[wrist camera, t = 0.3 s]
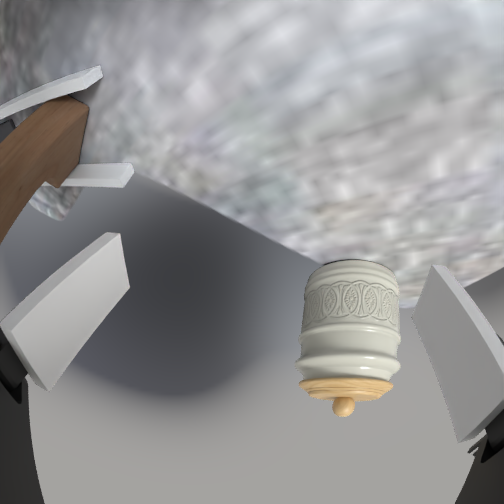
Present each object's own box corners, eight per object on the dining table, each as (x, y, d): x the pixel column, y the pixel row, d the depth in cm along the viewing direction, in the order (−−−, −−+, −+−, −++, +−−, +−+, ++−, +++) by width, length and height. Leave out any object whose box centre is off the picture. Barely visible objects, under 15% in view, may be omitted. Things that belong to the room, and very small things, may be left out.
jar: (298, 297, 42) (279, 412, 32) (317, 248, 31) (298, 409, 21) (375, 309, 41) (368, 419, 31) (415, 267, 30) (419, 413, 20)
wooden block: (79, 163, 26) (-6, 298, 16) (53, 148, 25) (-35, 275, 14) (91, 105, 20) (-38, 266, 10) (59, 89, 18) (-70, 235, 8)
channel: (-16, 114, 19) (-27, 125, 18) (100, 65, 16) (81, 76, 15) (16, 175, 30) (7, 186, 28) (134, 171, 26) (123, 187, 25)
